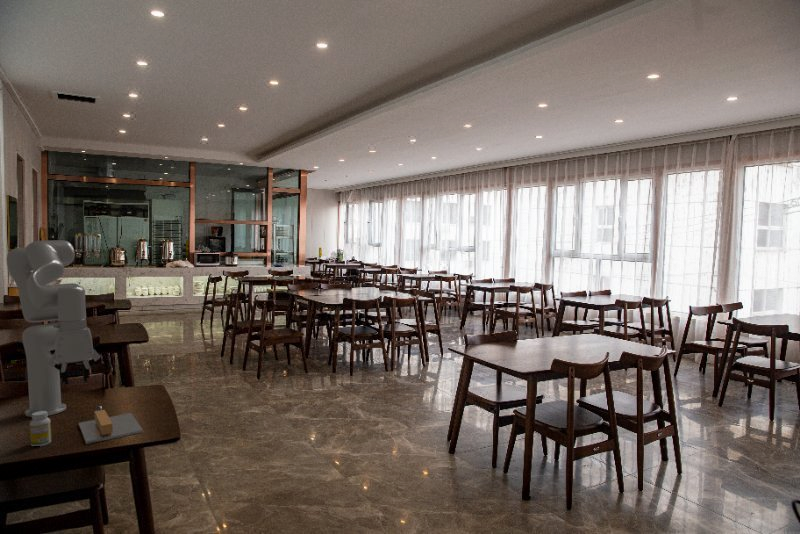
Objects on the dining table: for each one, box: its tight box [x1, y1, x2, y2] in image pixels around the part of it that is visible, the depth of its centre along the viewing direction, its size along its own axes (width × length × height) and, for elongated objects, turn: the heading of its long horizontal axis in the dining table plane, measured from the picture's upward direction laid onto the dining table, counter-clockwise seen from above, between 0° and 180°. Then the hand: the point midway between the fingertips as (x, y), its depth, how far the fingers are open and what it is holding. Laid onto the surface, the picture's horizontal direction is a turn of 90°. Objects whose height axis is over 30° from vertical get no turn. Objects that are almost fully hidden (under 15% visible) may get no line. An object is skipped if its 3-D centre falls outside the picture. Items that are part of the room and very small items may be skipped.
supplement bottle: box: [29, 411, 52, 447], centre depth 166 cm, size 5×5×10 cm
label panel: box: [78, 405, 144, 445], centre depth 178 cm, size 20×16×6 cm
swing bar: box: [94, 409, 113, 435], centre depth 176 cm, size 16×3×3 cm, turn 36°
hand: (75, 381), depth 172 cm, fingers open, 4 cm apart
